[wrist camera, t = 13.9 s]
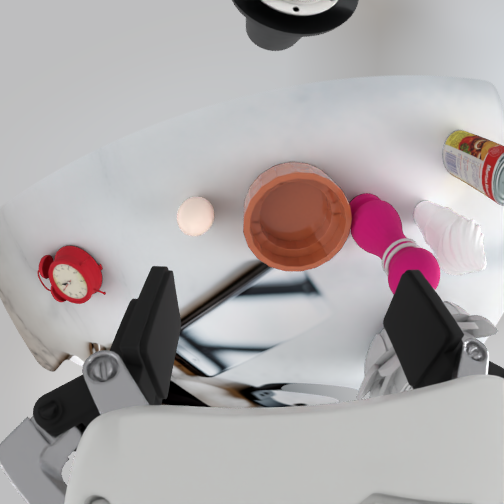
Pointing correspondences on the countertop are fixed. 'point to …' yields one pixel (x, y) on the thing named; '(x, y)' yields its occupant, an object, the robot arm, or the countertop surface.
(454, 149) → the canned food
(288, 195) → the bowl
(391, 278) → the pepper mill
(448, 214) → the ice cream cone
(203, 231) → the egg
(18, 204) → the countertop surface
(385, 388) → the decorative bowl
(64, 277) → the alarm clock
